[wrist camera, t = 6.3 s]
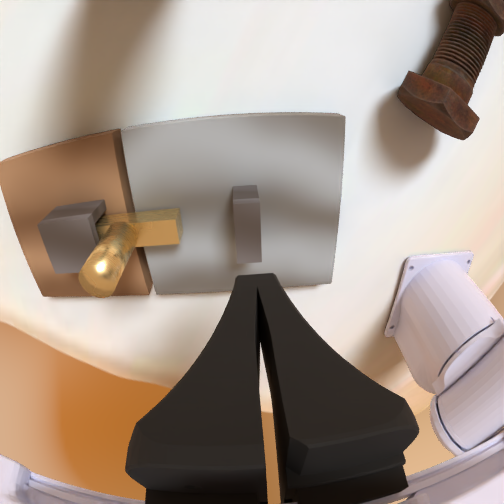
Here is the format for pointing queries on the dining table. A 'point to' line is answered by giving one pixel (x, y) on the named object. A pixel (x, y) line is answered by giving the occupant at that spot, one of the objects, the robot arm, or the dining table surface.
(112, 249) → the slide bolt
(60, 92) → the dining table surface
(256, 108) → the dining table surface
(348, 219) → the dining table surface
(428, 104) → the bolt
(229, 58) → the dining table surface
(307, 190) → the latch plate
